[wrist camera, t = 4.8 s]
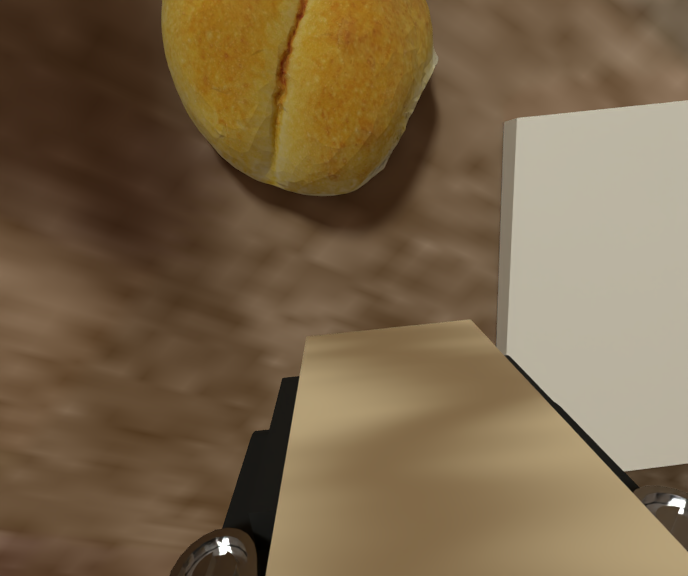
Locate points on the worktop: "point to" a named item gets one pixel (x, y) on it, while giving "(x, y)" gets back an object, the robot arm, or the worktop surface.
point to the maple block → (447, 470)
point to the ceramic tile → (601, 272)
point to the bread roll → (300, 83)
